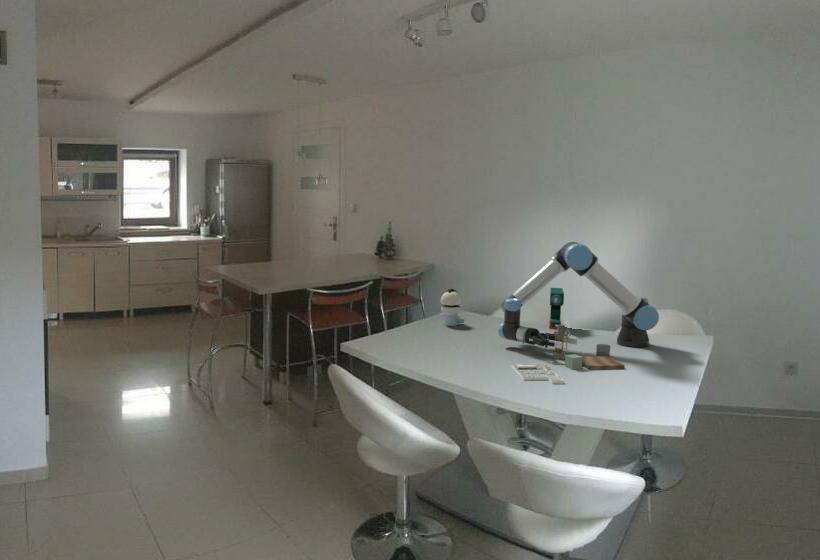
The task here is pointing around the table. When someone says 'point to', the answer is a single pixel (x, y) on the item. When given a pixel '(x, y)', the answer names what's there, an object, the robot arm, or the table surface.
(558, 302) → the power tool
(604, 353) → the grey rounded block
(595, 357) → the walnut board
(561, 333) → the grenade
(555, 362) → the table surface
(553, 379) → the floor plan model
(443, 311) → the toy
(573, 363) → the green block
